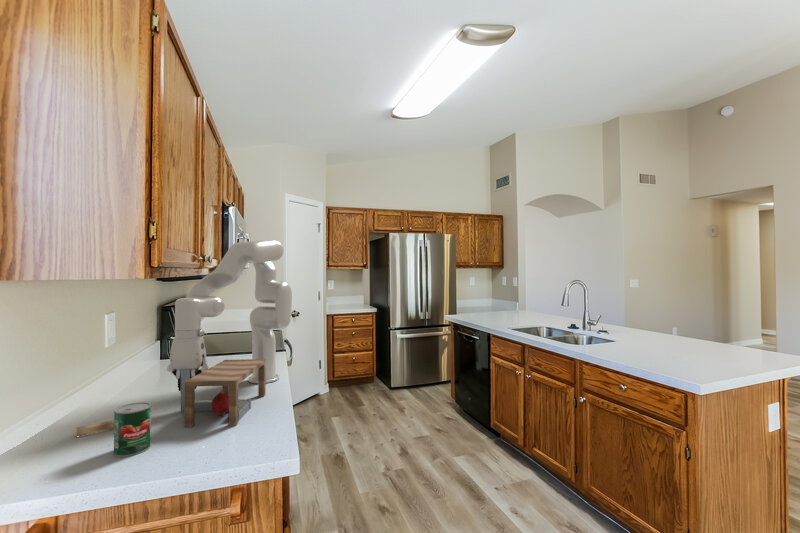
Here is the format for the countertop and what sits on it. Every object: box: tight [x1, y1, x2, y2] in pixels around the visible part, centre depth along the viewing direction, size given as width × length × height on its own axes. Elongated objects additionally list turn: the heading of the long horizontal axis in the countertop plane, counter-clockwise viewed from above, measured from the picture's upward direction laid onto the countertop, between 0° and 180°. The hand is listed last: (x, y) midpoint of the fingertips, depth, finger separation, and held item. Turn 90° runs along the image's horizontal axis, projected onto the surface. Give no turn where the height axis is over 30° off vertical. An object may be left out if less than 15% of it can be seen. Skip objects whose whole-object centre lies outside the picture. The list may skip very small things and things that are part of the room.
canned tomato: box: [113, 401, 152, 458], centre depth 98 cm, size 8×8×11 cm
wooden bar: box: [76, 419, 114, 437], centre depth 111 cm, size 14×2×2 cm, turn 132°
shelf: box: [183, 358, 267, 428], centre depth 127 cm, size 29×15×14 cm, turn 3°
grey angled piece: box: [180, 369, 252, 422], centre depth 122 cm, size 12×22×18 cm, turn 93°
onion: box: [211, 389, 229, 416], centre depth 121 cm, size 6×6×8 cm
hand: (187, 389), depth 126 cm, fingers closed on grey angled piece, 3 cm apart
